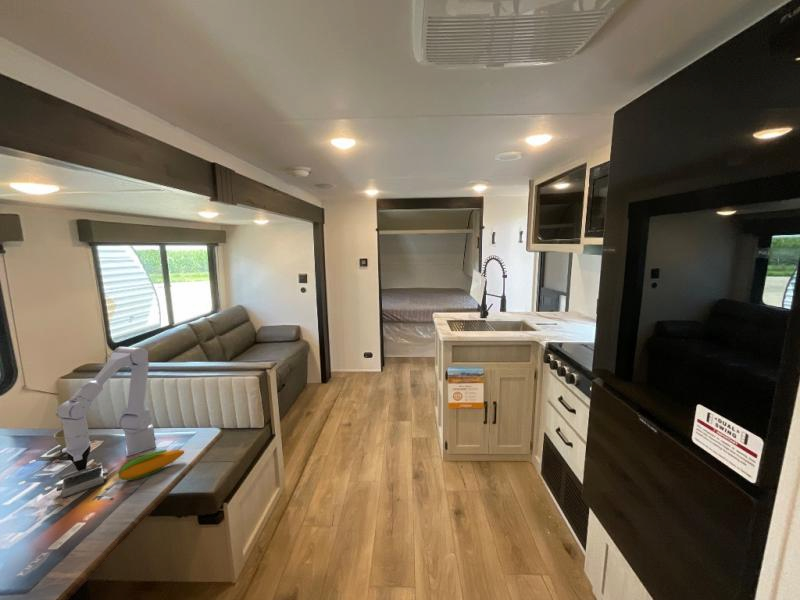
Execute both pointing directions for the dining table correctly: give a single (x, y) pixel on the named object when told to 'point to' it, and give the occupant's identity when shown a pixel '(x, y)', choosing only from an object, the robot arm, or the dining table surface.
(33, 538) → the dining table surface
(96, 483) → the cooker
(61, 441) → the flower pot
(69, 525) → the dining table surface
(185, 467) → the dining table surface
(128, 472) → the corn
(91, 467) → the lid
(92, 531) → the dining table surface
